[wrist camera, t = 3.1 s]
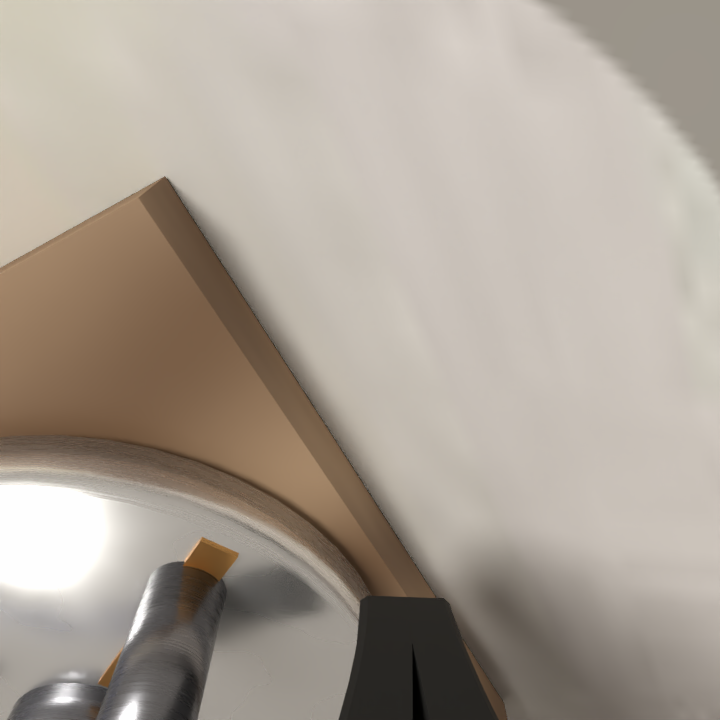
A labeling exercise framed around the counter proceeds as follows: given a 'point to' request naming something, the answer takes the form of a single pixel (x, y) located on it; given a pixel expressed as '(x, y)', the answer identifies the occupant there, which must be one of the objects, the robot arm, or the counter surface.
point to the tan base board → (180, 374)
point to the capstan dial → (163, 591)
